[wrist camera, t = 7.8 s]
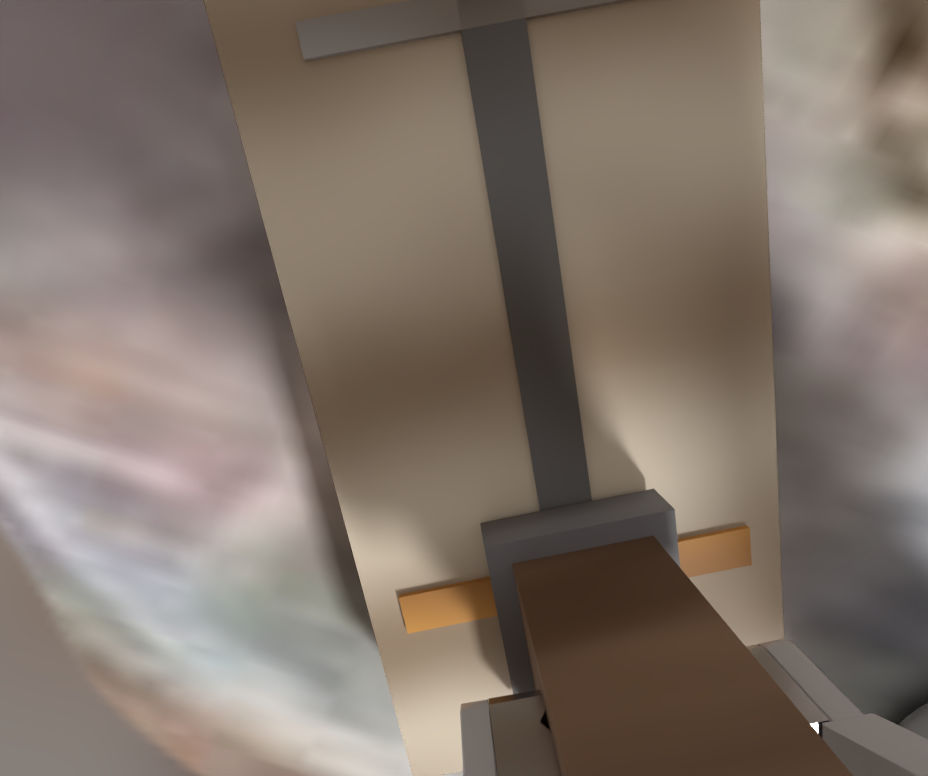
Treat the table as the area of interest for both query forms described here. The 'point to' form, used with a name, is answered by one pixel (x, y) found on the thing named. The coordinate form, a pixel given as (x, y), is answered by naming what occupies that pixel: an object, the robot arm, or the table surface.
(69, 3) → the table surface
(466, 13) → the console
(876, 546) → the table surface
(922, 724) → the plastic bottle
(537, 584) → the slider
